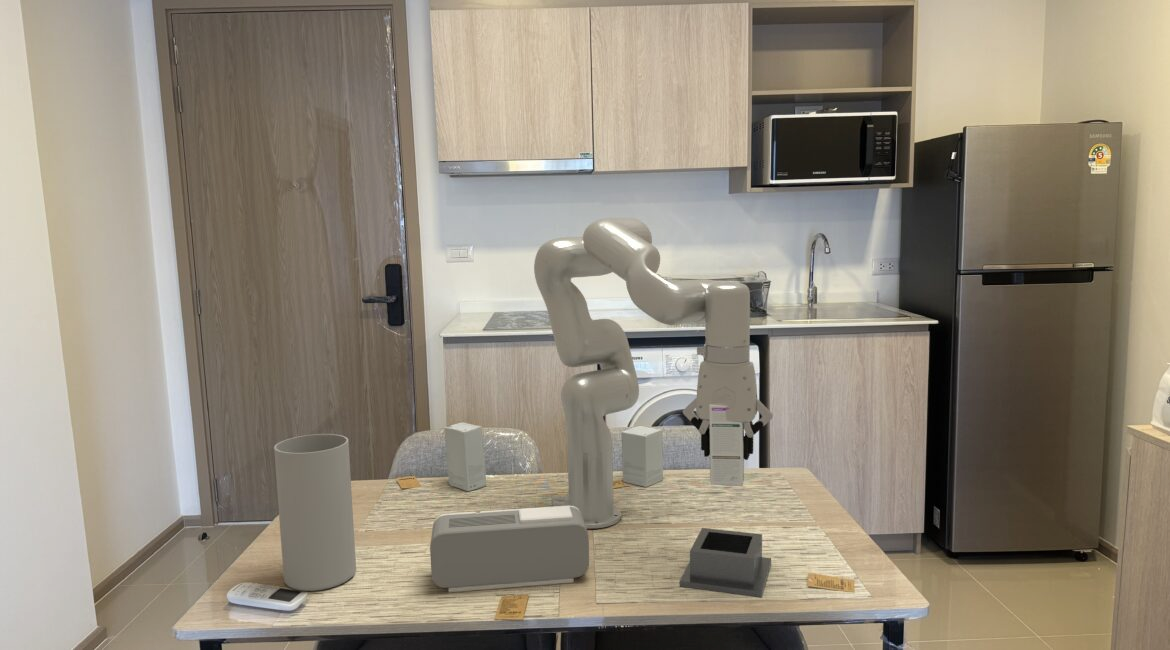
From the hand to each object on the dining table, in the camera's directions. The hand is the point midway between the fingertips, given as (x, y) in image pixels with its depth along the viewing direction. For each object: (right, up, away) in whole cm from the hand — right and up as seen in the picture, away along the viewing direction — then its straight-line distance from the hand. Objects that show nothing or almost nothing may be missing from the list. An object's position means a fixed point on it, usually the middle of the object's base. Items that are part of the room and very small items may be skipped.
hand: (727, 455), depth 142 cm
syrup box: (0, -5, +1) cm, 5 cm away
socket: (0, -22, +3) cm, 22 cm away
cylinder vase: (-73, -23, +5) cm, 77 cm away
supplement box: (-11, -15, +55) cm, 58 cm away
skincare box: (-54, -16, +54) cm, 78 cm away
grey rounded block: (-38, -23, +4) cm, 45 cm away
